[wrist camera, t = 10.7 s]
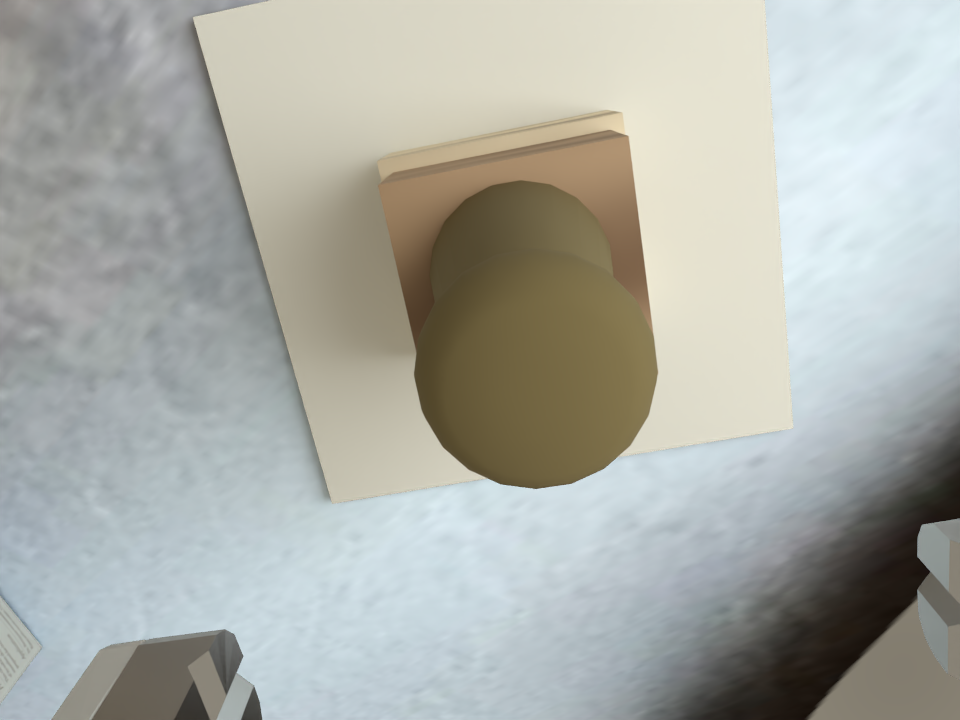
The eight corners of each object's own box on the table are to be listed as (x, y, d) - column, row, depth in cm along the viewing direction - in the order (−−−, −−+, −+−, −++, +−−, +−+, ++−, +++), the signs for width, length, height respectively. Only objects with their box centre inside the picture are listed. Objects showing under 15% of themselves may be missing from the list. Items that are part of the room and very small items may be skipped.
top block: (393, 172, 29) (377, 185, 25) (610, 129, 28) (628, 136, 24) (438, 374, 31) (430, 413, 27) (638, 339, 30) (658, 374, 27)
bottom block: (390, 152, 32) (376, 161, 28) (607, 109, 31) (622, 112, 28) (435, 355, 35) (428, 387, 31) (635, 320, 34) (652, 348, 31)
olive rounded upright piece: (540, 393, 27) (569, 582, 17) (394, 295, 26) (327, 433, 16) (651, 251, 25) (759, 365, 15) (499, 141, 24) (503, 179, 14)
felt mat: (198, 18, 31) (192, 17, 31) (752, -102, 29) (757, -106, 29) (334, 497, 38) (332, 503, 38) (788, 423, 36) (793, 428, 36)
